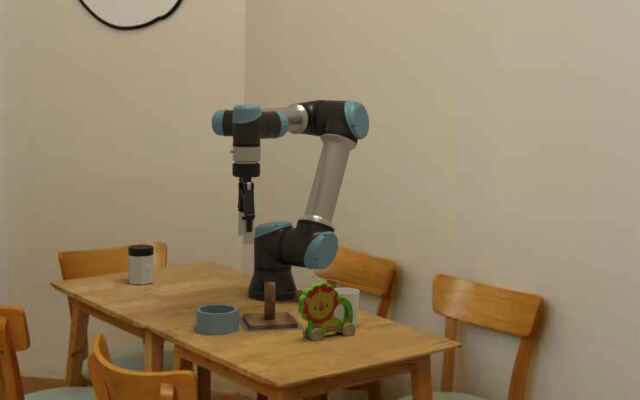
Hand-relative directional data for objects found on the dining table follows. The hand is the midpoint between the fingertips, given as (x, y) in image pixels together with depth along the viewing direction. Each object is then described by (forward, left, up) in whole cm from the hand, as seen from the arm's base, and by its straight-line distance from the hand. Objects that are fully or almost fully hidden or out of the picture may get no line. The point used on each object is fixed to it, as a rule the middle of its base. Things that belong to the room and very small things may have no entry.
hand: (245, 239), depth 261 cm
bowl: (+9, +7, -23) cm, 26 cm away
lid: (-6, +3, -23) cm, 24 cm away
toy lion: (-18, +19, -24) cm, 35 cm away
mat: (-6, +3, -23) cm, 24 cm away
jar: (+26, -57, -24) cm, 67 cm away
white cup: (-26, +8, -24) cm, 36 cm away
